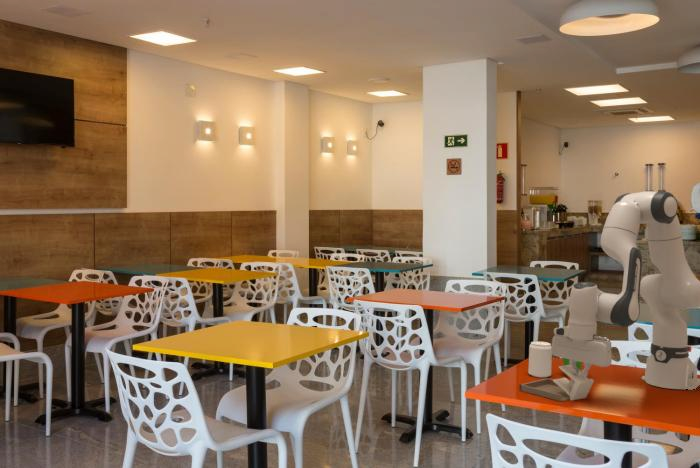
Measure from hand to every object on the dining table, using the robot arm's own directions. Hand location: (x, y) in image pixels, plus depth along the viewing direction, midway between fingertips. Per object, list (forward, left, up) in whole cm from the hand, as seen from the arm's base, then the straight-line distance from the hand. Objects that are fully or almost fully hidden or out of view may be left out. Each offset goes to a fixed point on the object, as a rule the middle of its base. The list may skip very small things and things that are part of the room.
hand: (579, 375), depth 220 cm
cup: (-27, -20, -8) cm, 34 cm away
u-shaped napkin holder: (0, +1, -5) cm, 5 cm away
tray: (-1, -10, -8) cm, 13 cm away
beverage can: (-17, -27, -8) cm, 33 cm away
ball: (-1, -2, -4) cm, 4 cm away
